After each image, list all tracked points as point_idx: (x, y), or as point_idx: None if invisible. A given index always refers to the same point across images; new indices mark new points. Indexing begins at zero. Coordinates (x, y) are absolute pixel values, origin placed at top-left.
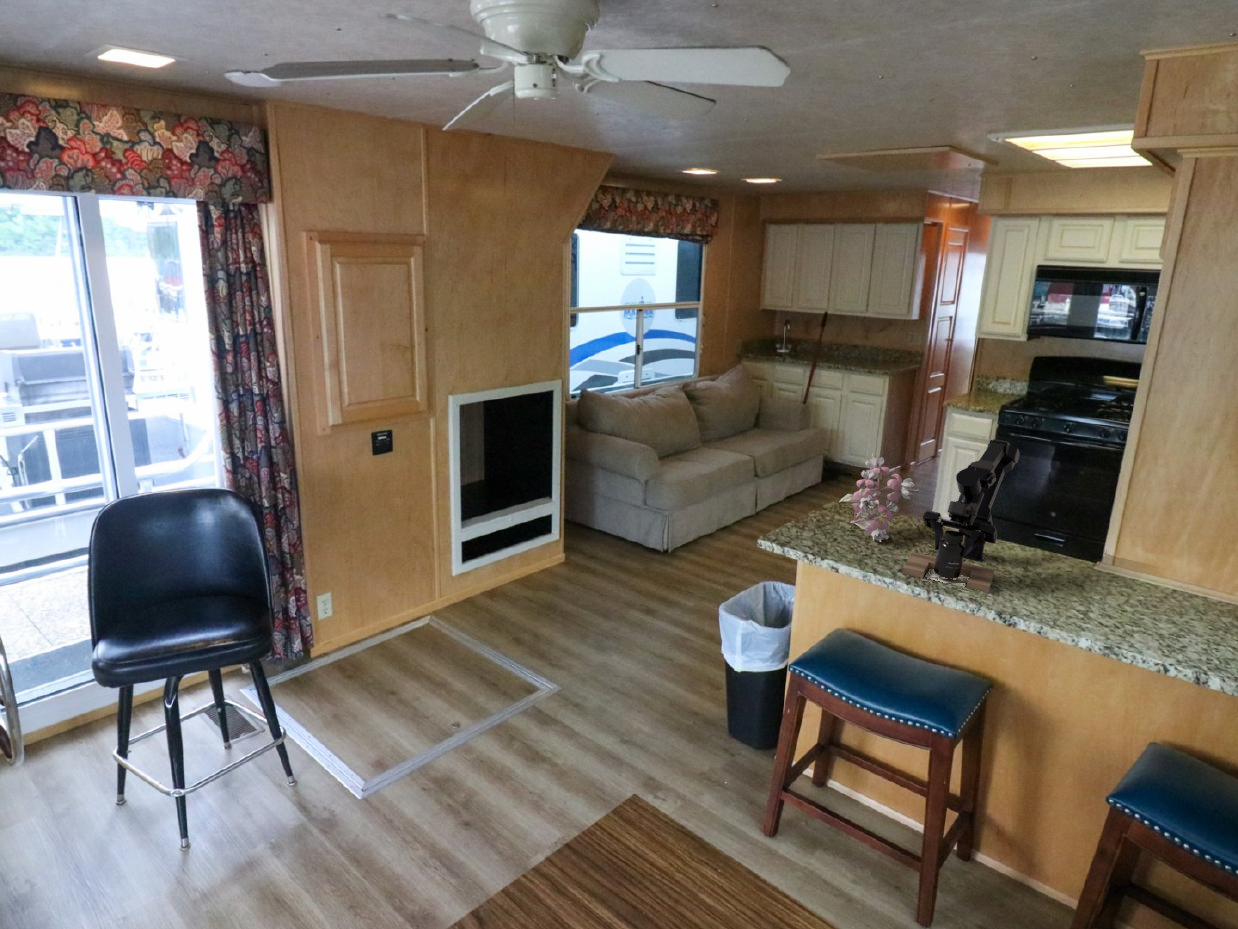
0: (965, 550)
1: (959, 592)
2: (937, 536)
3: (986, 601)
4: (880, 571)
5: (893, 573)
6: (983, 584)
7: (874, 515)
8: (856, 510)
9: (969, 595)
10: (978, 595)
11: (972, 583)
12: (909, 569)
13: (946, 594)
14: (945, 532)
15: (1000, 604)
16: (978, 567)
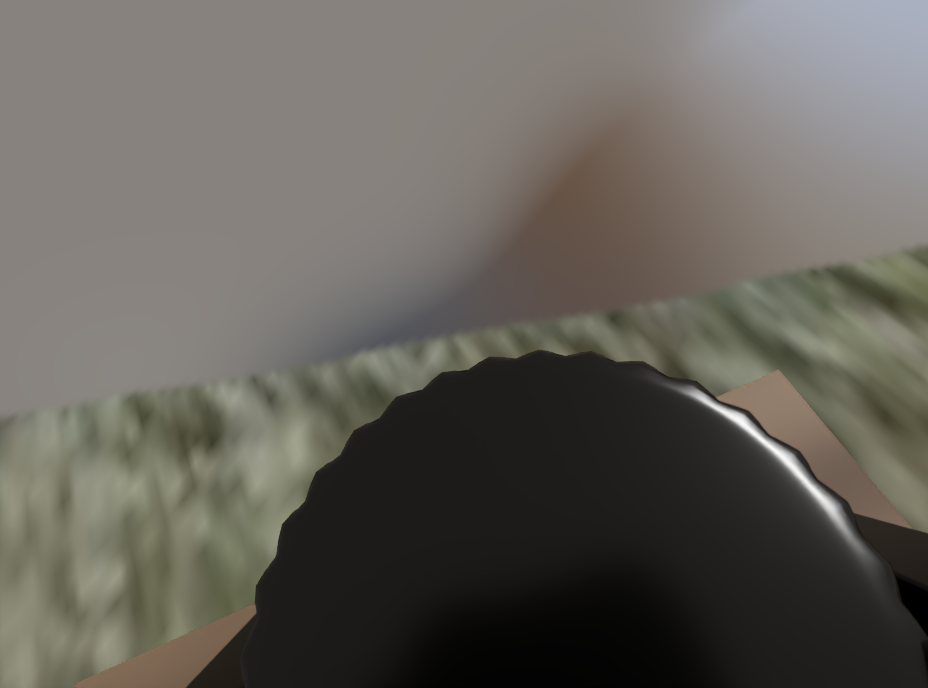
0: (243, 644)
1: (310, 465)
2: (925, 557)
3: (110, 490)
4: (843, 307)
5: (783, 353)
6: (137, 663)
7: None
8: None
9: (237, 480)
10: (184, 544)
11: (240, 613)
12: (731, 394)
13: (356, 357)
14: (748, 421)
15: (11, 532)
16: None
